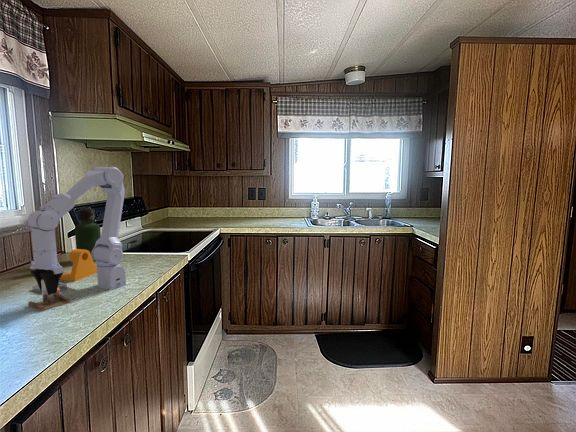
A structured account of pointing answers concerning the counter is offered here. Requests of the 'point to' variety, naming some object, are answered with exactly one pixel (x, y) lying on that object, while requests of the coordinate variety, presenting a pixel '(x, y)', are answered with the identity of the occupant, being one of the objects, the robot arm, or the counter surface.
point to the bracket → (80, 265)
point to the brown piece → (49, 303)
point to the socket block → (62, 287)
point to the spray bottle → (87, 230)
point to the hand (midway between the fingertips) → (48, 292)
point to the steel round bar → (45, 295)
